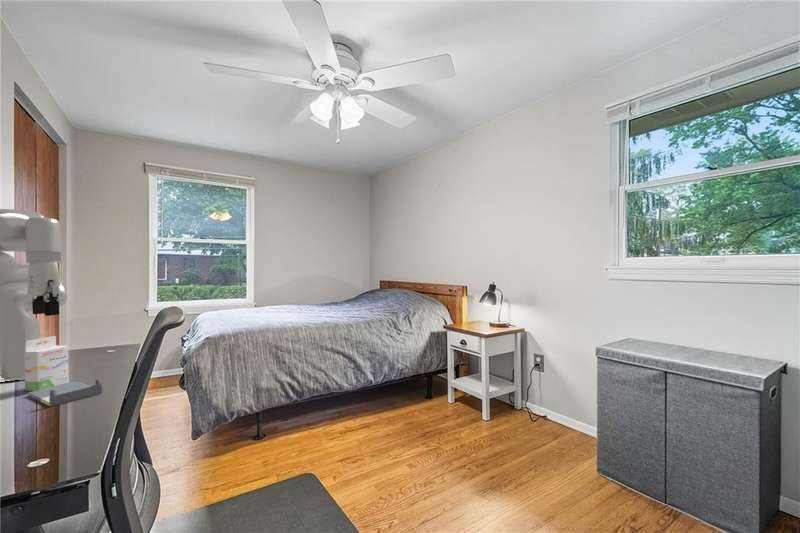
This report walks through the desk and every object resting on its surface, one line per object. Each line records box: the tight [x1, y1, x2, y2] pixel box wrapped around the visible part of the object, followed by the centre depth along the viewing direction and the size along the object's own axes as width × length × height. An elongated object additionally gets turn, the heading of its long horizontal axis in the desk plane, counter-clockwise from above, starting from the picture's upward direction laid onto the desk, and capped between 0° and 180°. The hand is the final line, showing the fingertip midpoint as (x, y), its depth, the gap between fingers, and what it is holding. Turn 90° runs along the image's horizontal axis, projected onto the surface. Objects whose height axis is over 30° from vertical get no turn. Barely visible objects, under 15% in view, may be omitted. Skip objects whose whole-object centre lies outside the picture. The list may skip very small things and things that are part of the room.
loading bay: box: [27, 378, 103, 407], centre depth 102 cm, size 17×11×4 cm, turn 60°
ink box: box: [24, 335, 70, 392], centre depth 109 cm, size 9×5×15 cm, turn 168°
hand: (45, 314), depth 109 cm, fingers open, 9 cm apart
